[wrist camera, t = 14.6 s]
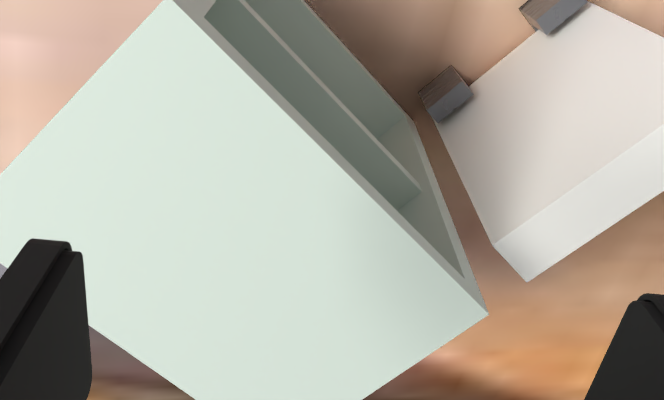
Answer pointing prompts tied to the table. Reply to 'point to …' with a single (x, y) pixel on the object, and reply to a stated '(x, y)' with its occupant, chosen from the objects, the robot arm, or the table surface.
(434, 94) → the hinge clips
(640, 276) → the table surface
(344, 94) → the cabinet
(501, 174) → the door
